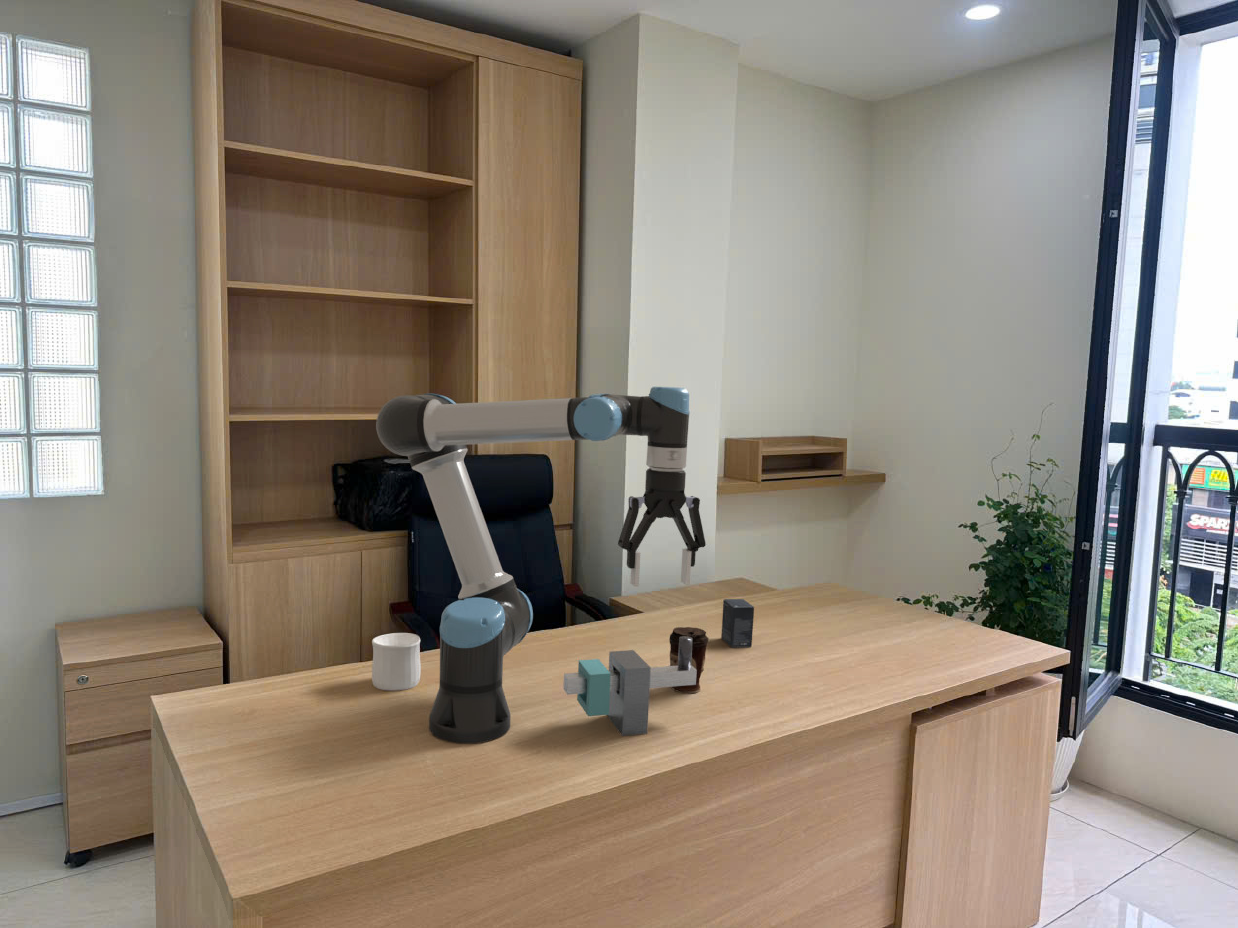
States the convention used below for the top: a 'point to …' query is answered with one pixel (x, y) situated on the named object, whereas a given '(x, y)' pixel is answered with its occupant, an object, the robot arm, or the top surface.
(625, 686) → the bearing block
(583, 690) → the shaft
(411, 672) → the cup
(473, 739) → the robot arm
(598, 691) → the spacer
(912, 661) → the top surface
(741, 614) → the box
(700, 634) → the coffee cup
